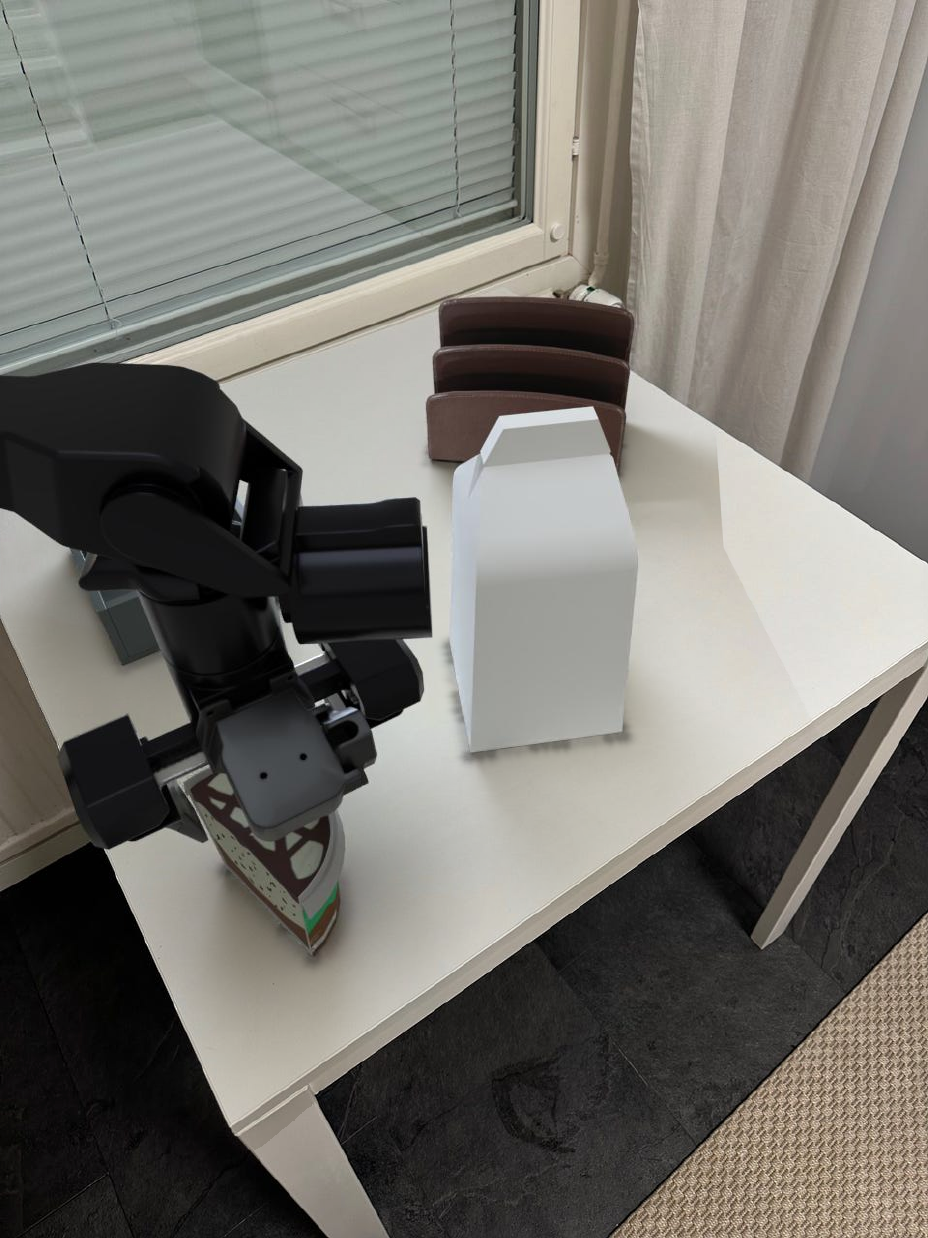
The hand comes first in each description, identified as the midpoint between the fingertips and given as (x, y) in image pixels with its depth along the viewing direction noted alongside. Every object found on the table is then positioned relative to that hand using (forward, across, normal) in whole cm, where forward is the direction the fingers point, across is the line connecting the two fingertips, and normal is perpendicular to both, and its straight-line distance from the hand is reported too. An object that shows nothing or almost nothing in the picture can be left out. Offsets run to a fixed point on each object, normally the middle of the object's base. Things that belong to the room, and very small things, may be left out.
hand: (275, 800), depth 54 cm
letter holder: (+11, +41, +34) cm, 54 cm away
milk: (+11, +23, +6) cm, 26 cm away
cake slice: (+11, 0, 0) cm, 11 cm away
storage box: (+10, +2, +34) cm, 36 cm away
